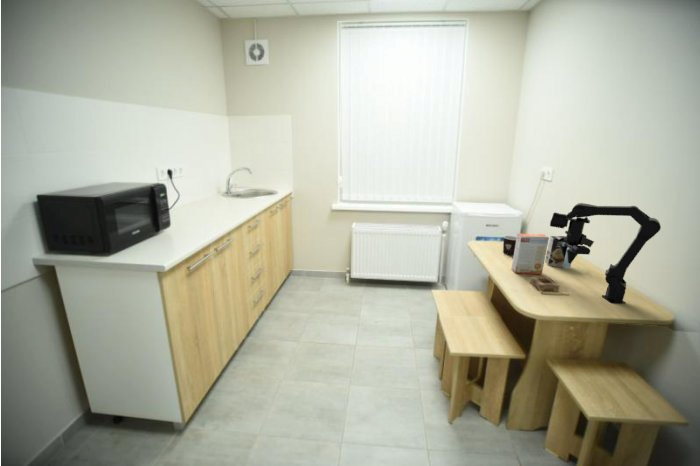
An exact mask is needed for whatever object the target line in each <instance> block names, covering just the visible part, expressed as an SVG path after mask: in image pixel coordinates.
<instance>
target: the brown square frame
mask: <svg viewBox="0 0 700 466" xmlns="http://www.w3.org/2000/svg"><path fill="white" fill-rule="evenodd" d="M529 283H530V285H531V286H532V287H533V288H534V289H535V290H536V291H538V292H539V290H541V291H542V292H559V290H560V284H559V283H558V282H556V281H555V280H554V279H552V278H551V277H549V276H548V277H547V276H531V277H530V281H529Z"/></svg>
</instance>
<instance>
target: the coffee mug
mask: <svg viewBox="0 0 700 466" xmlns="http://www.w3.org/2000/svg"><path fill="white" fill-rule="evenodd" d="M516 238H517V236H512V235H505V236H503V243H502V244H503V245H502V246H503V247H502V252H503V253H502V254H504V255H508V256H514V250H515V244H516Z"/></svg>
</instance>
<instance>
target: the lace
mask: <svg viewBox="0 0 700 466" xmlns="http://www.w3.org/2000/svg"><path fill="white" fill-rule="evenodd" d="M538 292H539V293H540V294H541V295H561V296H562V295H564V296H569V295H570V293H569V292H559V291H558V292H542V291H541V290H539V291H538Z"/></svg>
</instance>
